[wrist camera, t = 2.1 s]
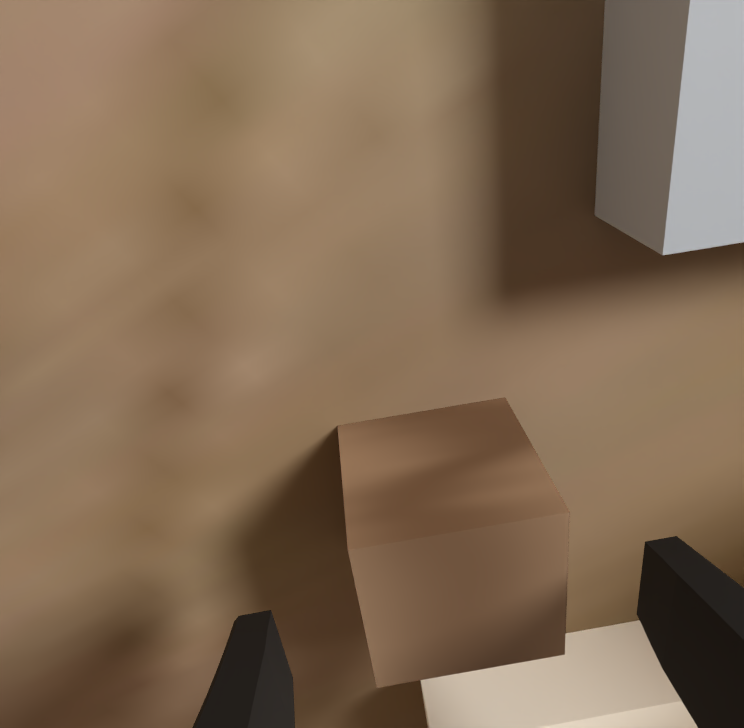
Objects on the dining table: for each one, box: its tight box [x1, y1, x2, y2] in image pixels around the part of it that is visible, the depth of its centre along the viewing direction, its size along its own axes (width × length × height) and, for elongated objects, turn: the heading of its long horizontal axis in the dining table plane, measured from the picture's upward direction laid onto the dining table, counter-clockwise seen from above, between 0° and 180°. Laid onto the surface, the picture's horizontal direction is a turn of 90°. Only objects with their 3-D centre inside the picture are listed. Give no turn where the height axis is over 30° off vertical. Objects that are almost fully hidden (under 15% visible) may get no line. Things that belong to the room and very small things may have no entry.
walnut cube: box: [338, 398, 570, 688], centre depth 13 cm, size 4×4×4 cm
